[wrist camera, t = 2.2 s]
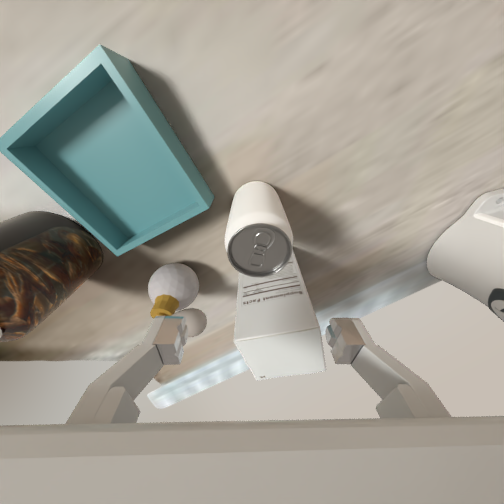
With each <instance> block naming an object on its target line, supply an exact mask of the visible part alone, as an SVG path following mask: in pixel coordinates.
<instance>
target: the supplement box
mask: <svg viewBox="0 0 504 504" xmlns="http://www.w3.org/2000/svg"><path fill="white" fill-rule="evenodd" d="M234 343H235V345H236V346H237V348H238V350H239V352H240V353H241V355H242V357H243V358H244V361H245V363H246V365H247V366H248V367H249V368H250V370H251V372H252V374H253V375H254V377H255V379H256V380H264V379H270V378H276V377H283V376H290V375H300V374H309V373H317V372H322V371H325V370H326V366H325V358H324V351H323V344H322V337H321V331H320V326H319V323H318V320H317V318H316V315H315V312H314V309H313V306H312V303H311V300H310V297H309V294H308V291H307V288H306V286H305V283H304V280H303V277H302V274H301V271H300V268H299V265H298V262H297V259H296V257H295V254H294V251H293V248H292V255H291V258H290V260H289V262H288V264H287V265H286V266H285V267H284V268H283V269H282V270H281V271H279V272H278V273H276V274H274V275H271V276H267V277H250V276H247V275H244V274H242V273H240V272H239V280H238V293H237V306H236V318H235V330H234Z"/></svg>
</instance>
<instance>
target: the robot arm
mask: <svg viewBox="0 0 504 504" xmlns="http://www.w3.org/2000/svg"><path fill="white" fill-rule="evenodd" d="M427 269H428V271H429V272H430V274H431V275H432V276H434V277H436V278H438V279H440V280H443V281H445V282H447V283H449V284H451V285H453V286H455V287H457V288H459V289H460V290H462V291H464V292H466V293H467V294H469V295H470V296H472V297H474V298H475V299H477V300H479V301H480V302H482V303H483V304H485V305H486V306H488V307H489V309H490V310H491V311H492V312H493V313H495V314H496V315H497V316H498V317H499V318H500V319H501V320H503V321H504V188H503V189H499V190H495V191H491V192H487V193H485V194H483V195H481V196H480V197H479V198H477V199H476V200H475V202H474V203H473V204H472V205H471V206H470V208H469V209H468V210H467V212H466V213H465V214H464V215H463V216H462V217H461V218H460V219H459V220H458V221H457V222H455V223H454V224H453V225H452V226H450V227H449V228H448V229H447V230H446V231H445V232H444V233H443V234H442V235H441V236H440V237H439V238H438V239H437V241H436V242H435V243H434V245H433V246H432V248H431V250H430V252H429V254H428V257H427ZM185 323H186V317H181V316H156V317H155V318H154V319H153V321H152V323H151V325H150V327H149V329H148V331H147V333H146V336H145V338H144V340H143V342H142V344H141V345H137V346H136V347H135V348H134V349H132V350H131V351H130V352H129V353H128V354H126V355H125V356H124V357H123V358H121V359H120V360H119V361H118V362H117V363H115V364H114V365H113V366H112V367H111V368H109V369H108V370H107V371H106V372H105V373H103V374H102V375H101V376H100V377H99V378H97V379H96V380H95V381H94V382H92V383H91V384H90V385H89V386H88V388H87V389H86V391H85V393H84V394H83V396H82V397H81V399H80V401H79V402H78V404H77V406H76V407H75V409H74V411H73V412H72V414H71V416H70V417H69V419H68V420H67V422H66V424H58V425H57V424H52V425H6V426H0V504H504V416H489V417H488V416H486V417H451V415H450V414H449V412H448V411H447V410H446V409H445V407H444V405H443V404H442V403H441V401H440V400H439V398H438V397H437V396H436V394H435V393H434V391H433V390H432V389H431V387H430V386H429V384H428V383H427V382H425V381H424V380H423V379H421V378H420V377H419V376H418V375H416V374H415V373H414V372H412V371H411V370H410V369H409V368H407V367H406V366H405V365H403V364H402V363H401V362H399V361H398V360H397V359H396V358H394V357H393V356H392V355H390V354H389V353H388V352H387V351H385V350H384V349H383V348H381V347H380V346H379V345H378V346H377V345H375V343H374V341H373V340H372V338H371V336H370V335H369V333H368V332H367V330H366V328H365V326H364V325H363V323H362V321H361V320H360V319H359V318H331V319H330V321H329V323H330V325H329V326H328V327H327V328H326V340H327V342H328V344H329V345H330V346H331V347H332V350H331V353H332V355H333V358H334V361H335V363H336V364H351V366H352V367H353V368H354V369H355V370H356V371H357V372H358V373H359V374H360V376H361V377H362V378H363V379H364V380H365V381H366V382H367V383H368V384H369V385H370V387H372V389H374V391H375V392H376V393H377V394H378V395H379V396H380V397H381V398H382V401H381V402H380V403H379V404H378V405H377V406H376V409H377V412H378V414H379V416H380V418H379V419H378V418H377V419H327V420H325V419H323V420H269V421H216V422H165V423H164V422H163V423H162V422H160V423H136V422H137V419H138V417H139V414H140V410H139V408H138V407H137V405H136V404H135V402H134V399H135V398H136V397H137V396H138V395H139V394H140V392H141V391H142V390H143V389H144V388H145V387H146V385H147V384H148V383H149V382H150V381H151V380H152V378H153V377H154V376H155V375H156V374H157V373H158V371H159V370H160V369H161V368H162V367H163V365H169V364H180V363H181V359H182V356H183V352H184V351H183V346H184V345H185V344H186V341H187V336H188V326H187V325H186V324H185Z"/></svg>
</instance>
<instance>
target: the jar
mask: <svg viewBox="0 0 504 504" xmlns="http://www.w3.org/2000/svg"><path fill="white" fill-rule="evenodd" d="M102 261H103V254H102V250H101V248H100V246H99V244H98V243H97V241H96V240H95V239H94V238H93V236H92V235H91V234H90V233H88V232H87V231H86V230H85V229H84V228H82V227H81V226H79V225H78V224H76V223H75V222H73V221H71V220H69V219H67V218H65V217H62V216H60V215H57V214H53V213H49V212H42V211H33V212H27V213H24V214H21V215H18V216H16V217H13V218H11V219H8V220H6V221H3V222H1V223H0V342H7V341H13V340H17V339H19V338H21V337H23V336H25V335H27V334H28V333H29V332H31V331H32V330H33V329H34V328H36V327H37V326H38V325H39V324H40V323H41V322H43V321H44V320H45V319H46V318H47V317H48V316H49V315H50V314H51V313H52V312H53V311H54V310H56V309H57V308H58V307H59V306H60V305H61V304H62V303H63V302H64V301H65V300H66V299H67V298H68V297H69V296H70V295H71V294H72V293H74V292H75V291H76V290H77V289H78V288H79V287H80V286H81V285H82V284H83V283H84V282H85V281H86V280H87V279H88V278H89V277H90V276H91V275H92V274H93V273H94V272H95V271H96V270H97V269H98V268H99V267H100V266H101V264H102Z"/></svg>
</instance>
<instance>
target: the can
mask: <svg viewBox="0 0 504 504" xmlns="http://www.w3.org/2000/svg"><path fill="white" fill-rule="evenodd" d="M292 246H293V234H292V230H291V227H290V224H289V222H288V219H287V216H286V214H285V211H284V209H283V206H282V203H281V201H280V198H279V196H278V194H277V192H276V191H275V189H274V188H273V187H272V186H270V185H269V184H267V183H265V182H260V181H254V182H249V183H246V184H244V185H243V186H241V187H240V188H239V189H238V190H237V192H236V193H235V196H234V198H233V202H232V206H231V210H230V215H229V219H228V224H227V228H226V234H225V248H226V251H227V255H228V259H229V261H230V263H231V264H232V266H233V267H234V268H235V269H236V270H237V271H239V272H240V273H242V274H244V275H247V276H250V277H267V276H271V275H274V274H276V273H278V272H279V271H281V270H282V269H283V268H284V267H285V266H286V265H287V264H288V262H289V260H290V258H291V255H292Z"/></svg>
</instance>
